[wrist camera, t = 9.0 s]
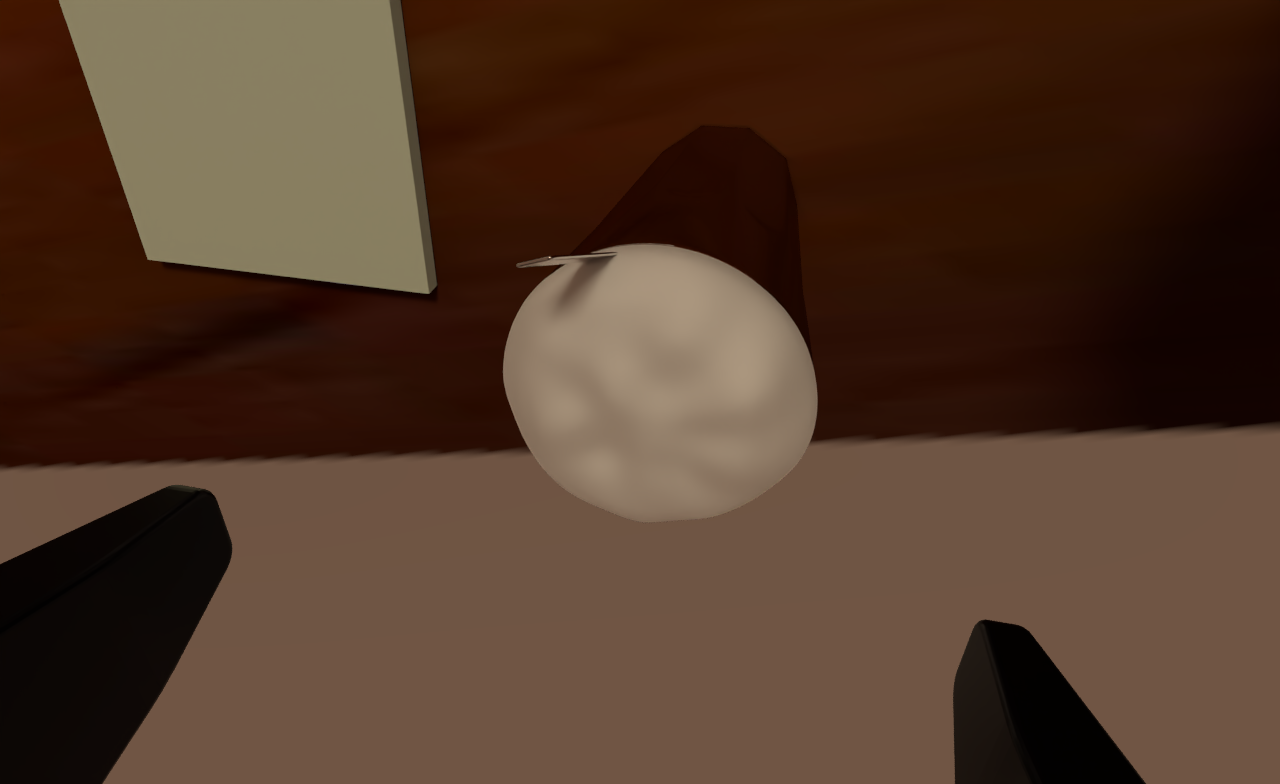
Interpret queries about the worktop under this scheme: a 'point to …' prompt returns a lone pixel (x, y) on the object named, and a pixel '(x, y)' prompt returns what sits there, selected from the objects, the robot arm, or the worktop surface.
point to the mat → (263, 134)
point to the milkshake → (673, 340)
